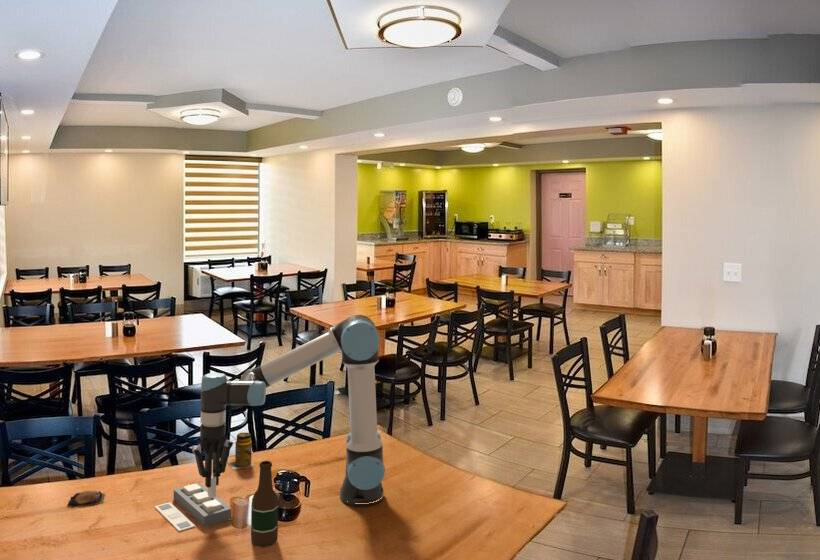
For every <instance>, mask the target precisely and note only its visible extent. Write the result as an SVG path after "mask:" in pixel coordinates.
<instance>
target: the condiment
mask: <svg viewBox="0 0 820 560" xmlns="http://www.w3.org/2000/svg"><path fill="white" fill-rule="evenodd" d="M252 442H253V441H252V435H251V433H250V432H239V433H238V434H236V441H235V448H234V449H235V452H234V453H235V454H234V455H235V456H234V458H235V459H234V461H229V462H227V465H228V466H229V467H230V469H232V470H239V469H246V468H251V467H255V466H256V465H255V464H254V463H253V462H252V456H253V455H252V452H253V451H252V446H253V443H252Z"/></svg>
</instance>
